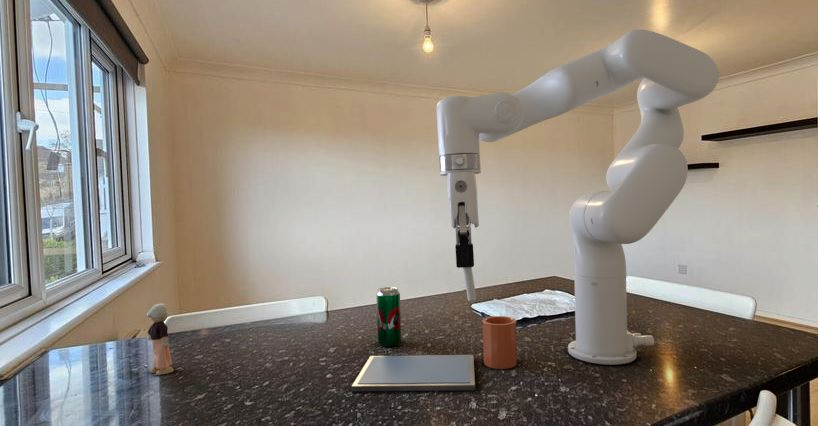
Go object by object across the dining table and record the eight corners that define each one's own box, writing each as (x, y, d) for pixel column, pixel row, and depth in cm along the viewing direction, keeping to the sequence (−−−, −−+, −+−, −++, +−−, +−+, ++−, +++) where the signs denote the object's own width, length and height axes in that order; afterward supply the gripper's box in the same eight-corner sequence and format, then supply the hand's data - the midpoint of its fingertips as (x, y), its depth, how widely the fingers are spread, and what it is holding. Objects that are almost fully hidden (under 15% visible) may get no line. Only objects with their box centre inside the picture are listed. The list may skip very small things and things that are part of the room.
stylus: (476, 298, 80) (466, 234, 80) (476, 300, 78) (466, 235, 78) (468, 299, 80) (457, 235, 80) (468, 301, 78) (457, 236, 78)
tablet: (473, 359, 83) (473, 354, 83) (475, 390, 69) (475, 384, 69) (370, 360, 83) (370, 355, 83) (351, 391, 69) (351, 385, 69)
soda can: (403, 340, 96) (401, 286, 95) (398, 347, 90) (397, 291, 90) (381, 340, 96) (379, 286, 96) (375, 347, 91) (373, 291, 91)
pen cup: (514, 356, 83) (513, 315, 83) (519, 368, 77) (518, 324, 77) (483, 357, 84) (482, 316, 83) (484, 369, 77) (483, 325, 77)
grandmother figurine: (184, 369, 81) (181, 303, 81) (163, 377, 77) (160, 307, 77) (158, 364, 84) (156, 300, 84) (137, 371, 81) (135, 304, 81)
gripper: (482, 160, 71) (488, 272, 71) (478, 168, 86) (483, 259, 87) (436, 163, 71) (442, 274, 71) (441, 170, 87) (446, 261, 87)
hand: (465, 265), depth 79 cm, fingers closed on stylus
